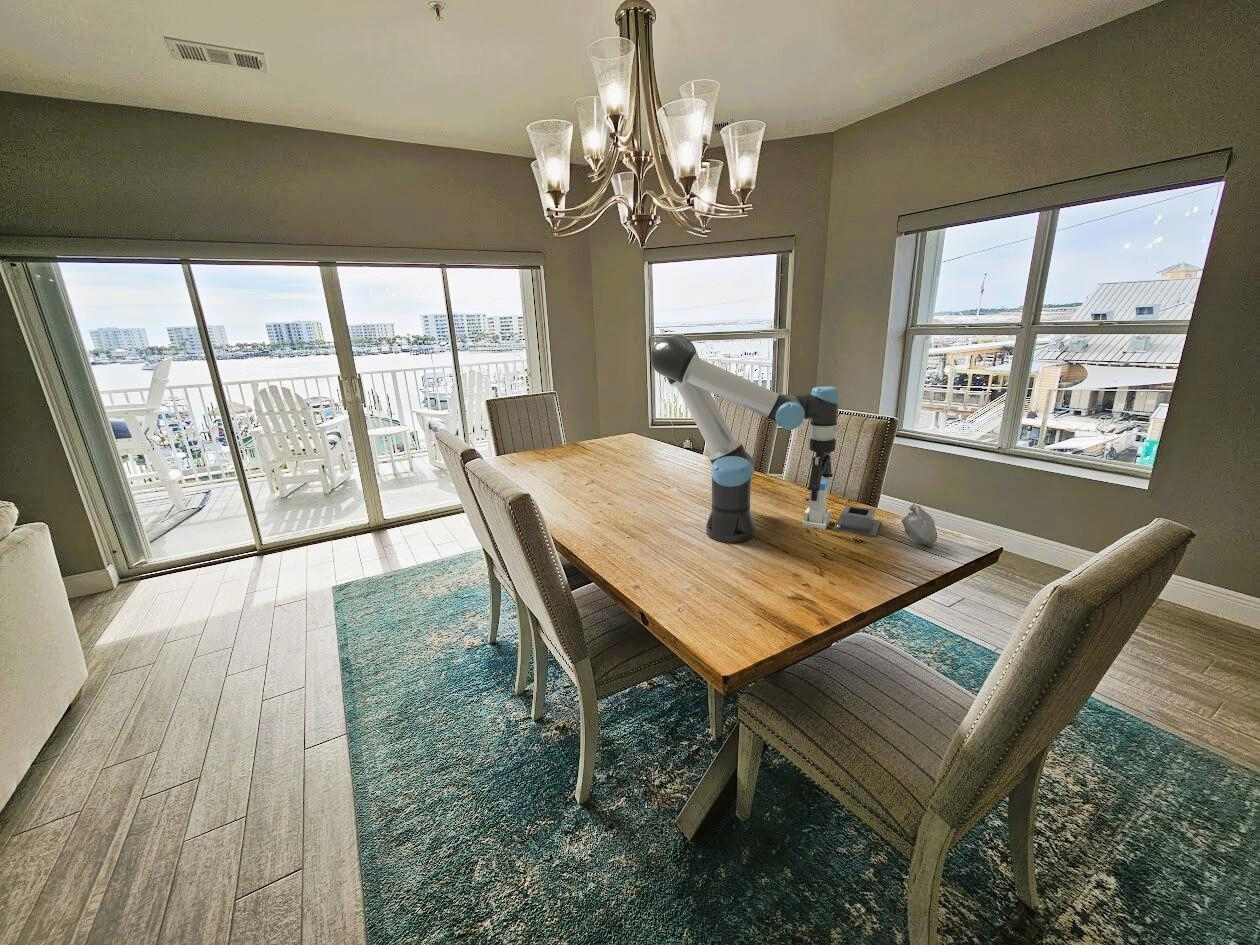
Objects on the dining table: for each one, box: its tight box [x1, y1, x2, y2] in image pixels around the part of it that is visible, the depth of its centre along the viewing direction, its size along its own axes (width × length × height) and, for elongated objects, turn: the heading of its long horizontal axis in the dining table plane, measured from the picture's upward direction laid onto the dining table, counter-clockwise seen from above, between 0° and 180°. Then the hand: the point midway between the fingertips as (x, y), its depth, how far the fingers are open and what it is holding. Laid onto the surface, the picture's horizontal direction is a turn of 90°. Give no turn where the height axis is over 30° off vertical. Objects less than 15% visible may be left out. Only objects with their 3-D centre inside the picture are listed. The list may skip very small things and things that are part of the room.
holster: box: [801, 506, 832, 530], centre depth 154 cm, size 7×7×4 cm
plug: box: [809, 480, 828, 524], centre depth 153 cm, size 4×4×14 cm
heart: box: [901, 504, 938, 548], centre depth 135 cm, size 10×10×12 cm
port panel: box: [832, 504, 882, 538], centre depth 150 cm, size 12×13×5 cm
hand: (819, 503), depth 153 cm, fingers open, 13 cm apart
